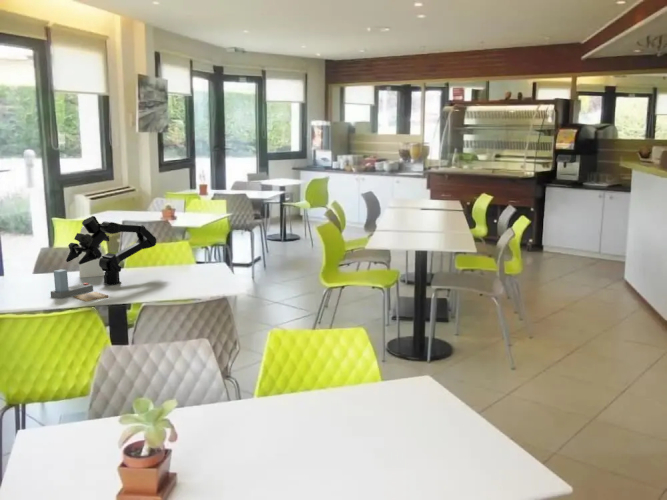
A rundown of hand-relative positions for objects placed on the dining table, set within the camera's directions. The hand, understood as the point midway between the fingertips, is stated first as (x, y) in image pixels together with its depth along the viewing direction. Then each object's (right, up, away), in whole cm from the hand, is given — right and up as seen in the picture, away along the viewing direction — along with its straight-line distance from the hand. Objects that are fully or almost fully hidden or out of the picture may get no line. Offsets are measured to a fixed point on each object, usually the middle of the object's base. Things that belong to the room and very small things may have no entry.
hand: (72, 262), depth 299 cm
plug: (-3, -15, -6) cm, 16 cm away
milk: (-6, -7, +40) cm, 41 cm away
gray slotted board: (0, -15, -1) cm, 15 cm away
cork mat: (+11, -16, -8) cm, 21 cm away
